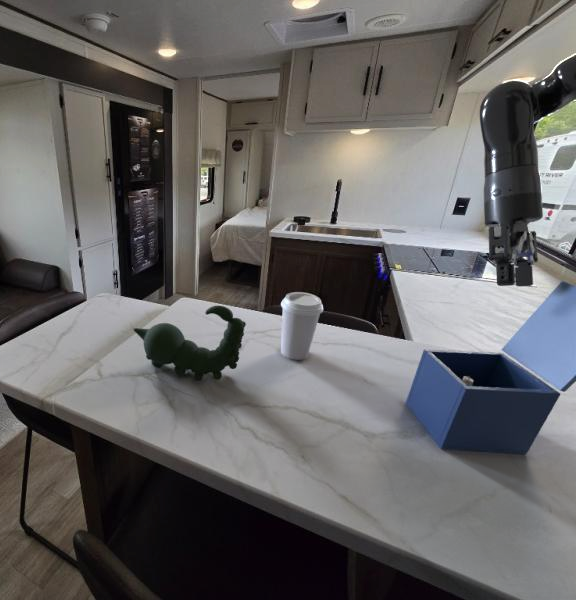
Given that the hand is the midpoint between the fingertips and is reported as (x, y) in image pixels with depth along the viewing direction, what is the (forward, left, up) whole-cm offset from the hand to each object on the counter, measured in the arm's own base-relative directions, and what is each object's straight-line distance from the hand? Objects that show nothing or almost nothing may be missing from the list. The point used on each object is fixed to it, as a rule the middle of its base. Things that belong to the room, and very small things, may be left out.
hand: (515, 286), depth 62 cm
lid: (-1, +10, -4) cm, 11 cm away
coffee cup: (+33, -13, -24) cm, 43 cm away
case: (+8, +10, -24) cm, 28 cm away
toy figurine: (+60, -3, -24) cm, 65 cm away
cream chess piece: (+10, +10, -24) cm, 28 cm away
